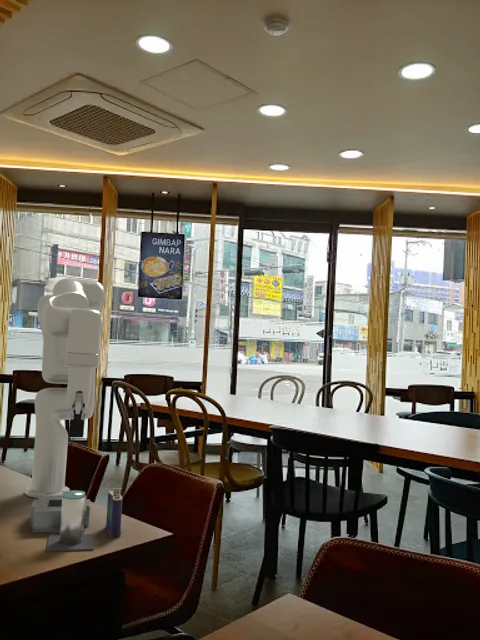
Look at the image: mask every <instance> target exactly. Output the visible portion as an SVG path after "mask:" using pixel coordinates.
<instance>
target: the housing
mask: <svg viewBox="0 0 480 640" xmlns="http://www.w3.org/2000/svg"><path fill="white" fill-rule="evenodd" d="M61 509H62V496H39V498H37V499H33V501H32V504H31V508H30V515H29V516H30V517H29V519H30V520H29V528H30V529H32V533H34V534H36V533H37V534H39V533H42V534H43V533H44V534H45V533H60V523H61ZM90 509H91V499H87V495H85V502H84V517H83V532H85V529H86V527H89V525H90V514H91V513H90V512H91V511H90ZM83 532H82V533H83Z"/></svg>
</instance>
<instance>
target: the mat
mask: <svg viewBox="0 0 480 640" xmlns="http://www.w3.org/2000/svg"><path fill="white" fill-rule="evenodd" d="M59 537H60V534H49V535H48V538H47V544H46V550H45V552H46V553H53V552H54V553H55V552H56V553H57V552H58V553H59V552H83V551H84V552H85V551H86V552H87V551H89V552H90V551H94V533H82V542H80V543H78V544H72V545H66V544H61V543H60V542H59Z"/></svg>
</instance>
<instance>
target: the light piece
mask: <svg viewBox="0 0 480 640" xmlns="http://www.w3.org/2000/svg"><path fill="white" fill-rule="evenodd" d="M85 496H86V491H83V490H69V491H66V492H63V495H62V509H61V523H60V532H59V535H60V537H59V542H60V543H61V544H66V545H72V544H78V543H80V542H82V534H83V517H84V502H85Z"/></svg>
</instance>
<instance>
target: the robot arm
mask: <svg viewBox="0 0 480 640" xmlns="http://www.w3.org/2000/svg"><path fill="white" fill-rule="evenodd" d="M105 299H106V293H105V289H104V286H103V284H101V283H100V282H98V281H95V280H88V279H78V278H62V279H60V280H58V281H57V282H56V283H55V284H54V285H53V287H52V294H44V295H42V296H41V297H40V298H39V299H38V302H37V310H36V311H37V319H38V320H37V321H38V323H39V326H40V330H41V333H42V339H43V343H42V358H41V359H42V361H41V377H42V379H43V380H44V382H46V383H48V384H49V383H50V384H60V385H61V384H63V385H67V387H47V388H43V389H40V390H39V391H37V393H36V394H35V397H34V414H35V431H34V432H35V433H34V435H35V436H34V447H33V458H32V459H33V460H32V462H33V463H32V475H31V486H29V487H27V488H25V492H24V494H25V495H26V496H28V497H30V498H33V499H34V498H35V499H38V498H39V496H62V495H63V492H66V491H70V488H69V487H68V486H66V484H65V483H66V470H67V460H68V458H67V457H68V446H69V445H68V443H69V438H75V439H77V438H83V437H84V435H85V434H84V433H85V432H84V431H85V420H88V419H91V418H92V416H93V414H94V412H95V411H94V410H95V405H96V404H95V401H96V398H95V396H96V375H97V374H96V370H97V369H98V368H99V359H100V358H99V357H100V349H101V348H100V346H101V334H102V332H103V327H104V320H103V317H102V313H101V311H102V309H103V306H104V303H105ZM66 420H69V427H68V428H69V429H68V431H67V429H66V428H65V426H64V425H63V424H62V422H61V421H66Z"/></svg>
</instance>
